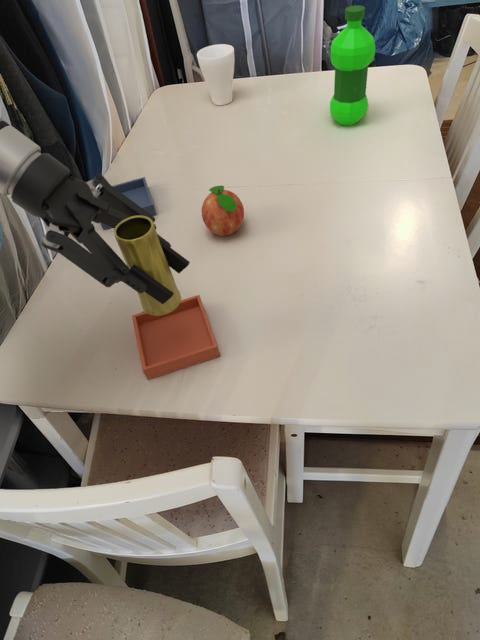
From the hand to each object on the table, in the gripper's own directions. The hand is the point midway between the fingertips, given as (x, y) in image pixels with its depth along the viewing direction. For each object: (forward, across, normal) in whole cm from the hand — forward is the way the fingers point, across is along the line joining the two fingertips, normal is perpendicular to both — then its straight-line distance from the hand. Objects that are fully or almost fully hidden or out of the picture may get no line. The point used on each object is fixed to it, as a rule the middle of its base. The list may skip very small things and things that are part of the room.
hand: (176, 282), depth 63 cm
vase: (+1, 0, -6) cm, 6 cm away
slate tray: (-11, -34, -32) cm, 48 cm away
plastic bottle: (+21, -77, 0) cm, 80 cm away
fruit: (+7, -30, -14) cm, 33 cm away
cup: (-6, -88, -28) cm, 92 cm away
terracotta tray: (+8, 0, -13) cm, 15 cm away
